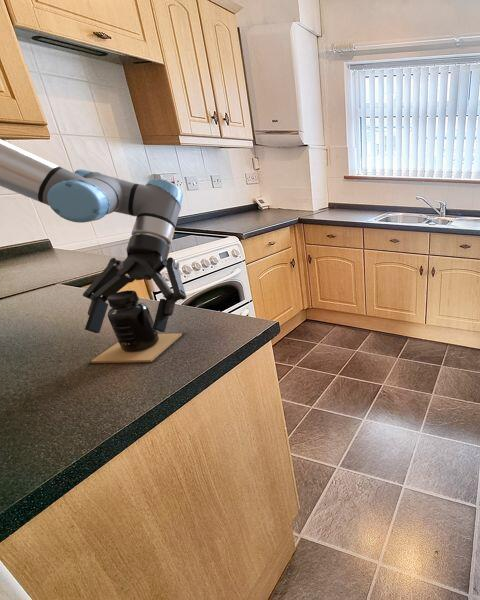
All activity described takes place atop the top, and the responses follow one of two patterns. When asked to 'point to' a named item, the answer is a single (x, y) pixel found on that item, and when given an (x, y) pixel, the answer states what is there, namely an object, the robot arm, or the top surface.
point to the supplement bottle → (131, 322)
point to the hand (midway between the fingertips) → (125, 330)
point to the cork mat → (147, 355)
